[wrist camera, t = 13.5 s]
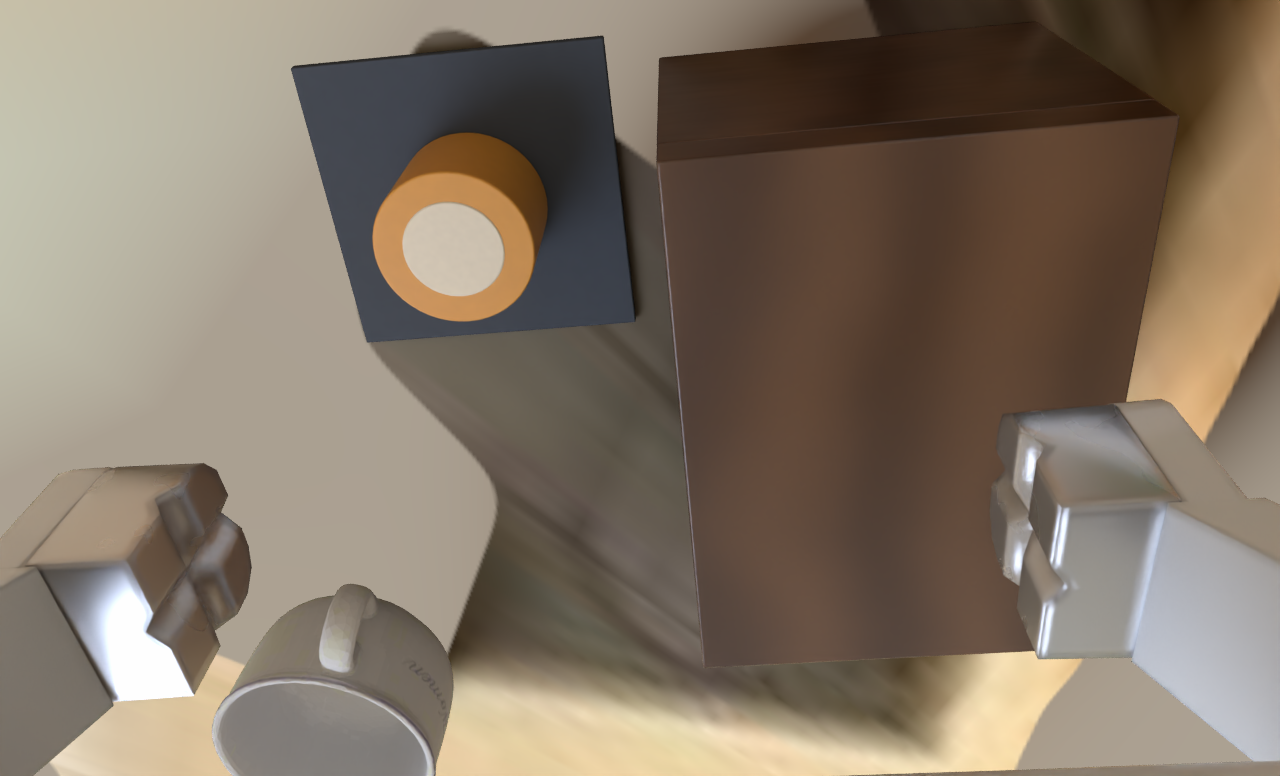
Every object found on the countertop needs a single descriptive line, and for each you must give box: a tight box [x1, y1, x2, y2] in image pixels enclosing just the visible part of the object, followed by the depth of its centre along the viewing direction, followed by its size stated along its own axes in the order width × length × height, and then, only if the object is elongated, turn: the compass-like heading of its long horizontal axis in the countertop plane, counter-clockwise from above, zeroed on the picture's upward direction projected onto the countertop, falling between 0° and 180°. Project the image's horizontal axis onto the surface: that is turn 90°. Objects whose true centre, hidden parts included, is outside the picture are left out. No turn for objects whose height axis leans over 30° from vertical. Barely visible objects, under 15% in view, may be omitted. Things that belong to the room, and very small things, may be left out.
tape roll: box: [372, 133, 548, 321], centre depth 38 cm, size 6×6×5 cm
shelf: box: [657, 22, 1179, 668], centre depth 37 cm, size 14×20×12 cm
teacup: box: [212, 584, 453, 776], centre depth 50 cm, size 14×11×8 cm
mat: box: [291, 36, 636, 342], centre depth 40 cm, size 12×12×1 cm
